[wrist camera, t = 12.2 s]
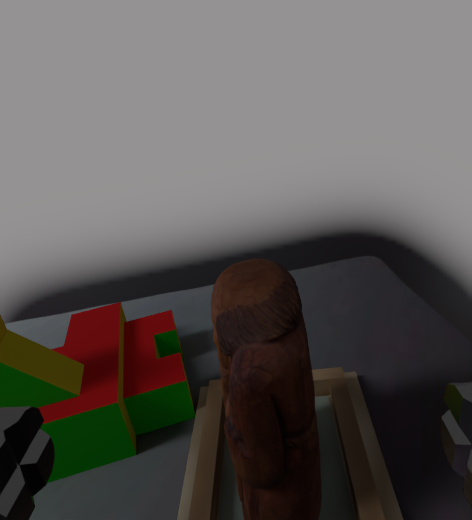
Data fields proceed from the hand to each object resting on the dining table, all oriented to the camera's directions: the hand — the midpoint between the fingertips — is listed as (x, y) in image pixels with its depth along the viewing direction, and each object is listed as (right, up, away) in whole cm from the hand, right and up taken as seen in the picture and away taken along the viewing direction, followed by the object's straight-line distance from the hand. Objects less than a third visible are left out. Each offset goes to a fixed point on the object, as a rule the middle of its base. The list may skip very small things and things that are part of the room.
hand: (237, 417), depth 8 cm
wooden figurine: (+4, -14, +24) cm, 28 cm away
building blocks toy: (-18, -13, +38) cm, 44 cm away
